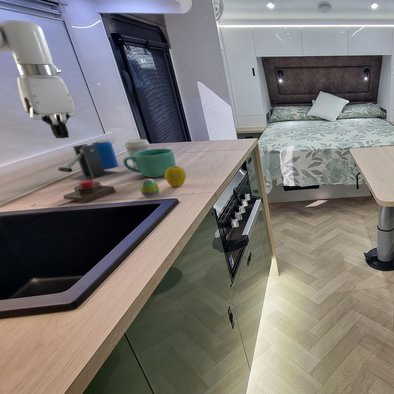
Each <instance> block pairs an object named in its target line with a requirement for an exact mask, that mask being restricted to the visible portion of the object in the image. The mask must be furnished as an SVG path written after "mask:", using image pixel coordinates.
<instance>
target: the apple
mask: <svg viewBox="0 0 394 394" xmlns="http://www.w3.org/2000/svg"><path fill="white" fill-rule="evenodd" d="M164 178H165V180H166V182H167V183H168V184H169V185H170V186H171V187H181V186H183V185H184V183H185V181H186V178H187V173H186V171H185V169H184V168H183V167H182V166H179V165H176V166H172V167H169V168H167V169H166V171H165V176H164Z"/></svg>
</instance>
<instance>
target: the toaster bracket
mask: <svg viewBox="0 0 394 394" xmlns="http://www.w3.org/2000/svg"><path fill="white" fill-rule="evenodd" d="M84 145H86V146H84ZM80 148H81V149H82V151H83V154H84V156H82V157H81V158H80V159H79V160H78V161H77V162H78V164H79V166H80V169H81V172H82V175H78V176H74V177H71V178H70V180H77V181H84V180H93V181H94V180H96V179H100V178H103V177H106V176H110V175H112V174H117V173H118V171H114V170H113V171H111V170H105V169H103V166H102V163H101V160H100V157H99V154H98V151H97V148H96V145H92V144H89V145H88V144H86V143H83V144H80V145H73V146H72V149H73V150H74V154H75V157H76V156H77V155H78V154H79V153H80V151H79V149H80Z"/></svg>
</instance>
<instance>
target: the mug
mask: <svg viewBox="0 0 394 394" xmlns="http://www.w3.org/2000/svg"><path fill="white" fill-rule="evenodd" d="M134 156H135V157H132V156H130V155H128V156H126V157H124V158H123V161H122V163H123V165H124V167H125V168H126V169H127V170H129V171H131V172H133V173H137V174H141V175H142V176H145V177H148V178H150V179H159V178H165V171H166V169H167V168H169V167H172V166H177V165H176V164H177V163H176V159H175V155H174V151H173V150H172V149H171V148H151V149H149V150H145V151H140V152H137V153H135V154H134ZM129 160H131V161H132V160H134V161H135V162H136V163H137V167H138V168H135V167H132V166H130V165H129V163H128V161H129Z"/></svg>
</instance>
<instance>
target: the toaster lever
mask: <svg viewBox="0 0 394 394" xmlns="http://www.w3.org/2000/svg"><path fill="white" fill-rule="evenodd" d="M83 145H84V144H83ZM84 146H86V145H84ZM79 151H80V153H79V154H78V155H77V156H76V155H75V157H74V158H73V159H71V161H69V162H68V163H67V164H66V165H65V166H64V167H63V166H60V167H58V168H57V170H58V171H59V172H63V173H72V172H73V166H74V165H75V164H76V163H77V162H79V161H78V160H79V159H80V158H81V157H82V156H84V154H83V151H82V149H81V148H80V149H79Z"/></svg>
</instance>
